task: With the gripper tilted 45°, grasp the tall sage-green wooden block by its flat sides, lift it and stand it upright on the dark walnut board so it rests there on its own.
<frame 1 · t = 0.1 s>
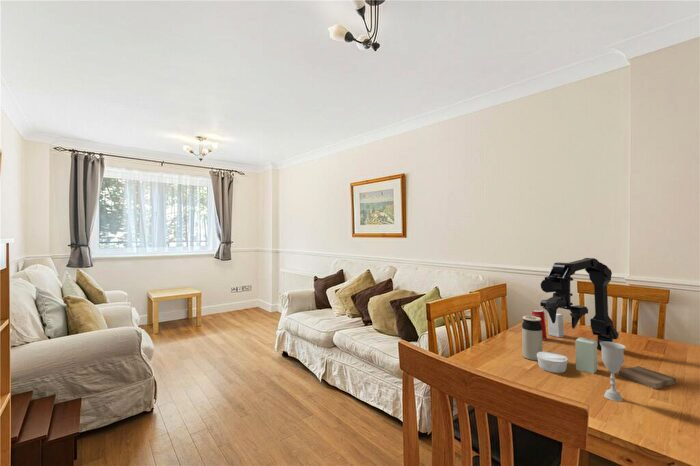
hand: (563, 325, 149), 15 cm above the table, tool pointing down, fingers open, 9 cm apart
sage block: (586, 369, 137), on the table
chalice: (613, 398, 113), on the table
walnut board: (646, 379, 126), on the table
skincare box: (555, 336, 180), on the table
ramekin: (552, 369, 138), on the table
travel mug: (532, 357, 150), on the table
beverage can: (539, 338, 176), on the table
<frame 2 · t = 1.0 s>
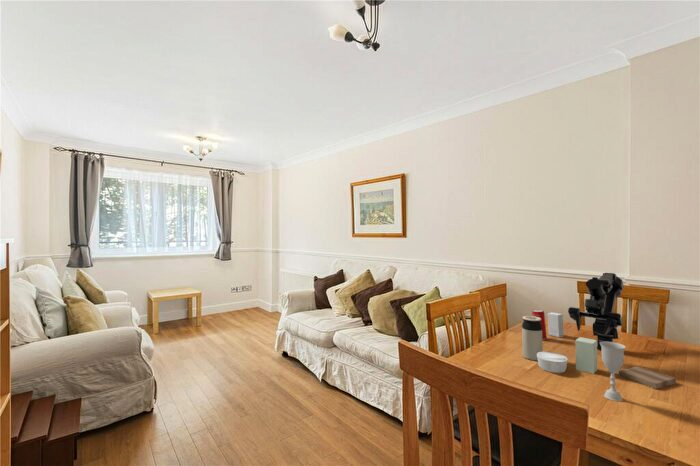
hand: (590, 332, 142), 13 cm above the table, tool tilted 45°, fingers open, 9 cm apart
nothing on the table moved.
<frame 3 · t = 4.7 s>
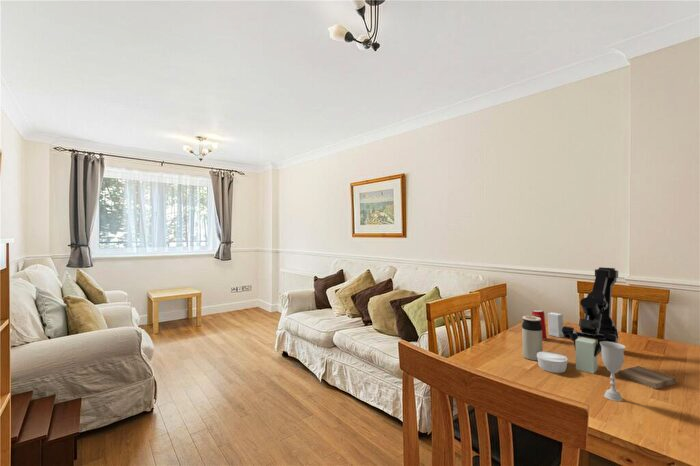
hand: (585, 354, 136), 7 cm above the table, tool tilted 45°, fingers closed on sage block, 6 cm apart
sage block: (586, 369, 136), on the table, touching gripper
everything else where it was.
when the fingers open (9 cm above the table, at t = 12.5 s): sage block stays where it is, resting on walnut board.
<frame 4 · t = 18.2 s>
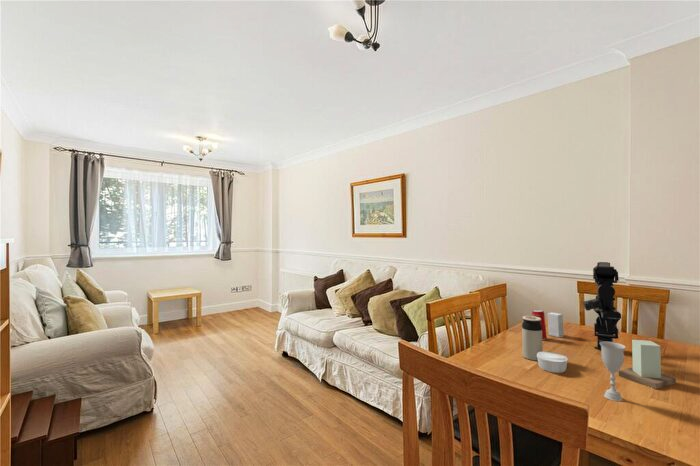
hand: (606, 329, 147), 13 cm above the table, tool pointing down, fingers open, 9 cm apart
sage block: (646, 374, 126), point 2 cm above the table, touching walnut board
everything else where it was.
at the end: sage block inside the target area on the walnut board (0.0 cm from its centre), point 2.0 cm above the walnut board's base; sage block tilted 0°; sage block touching walnut board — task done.
